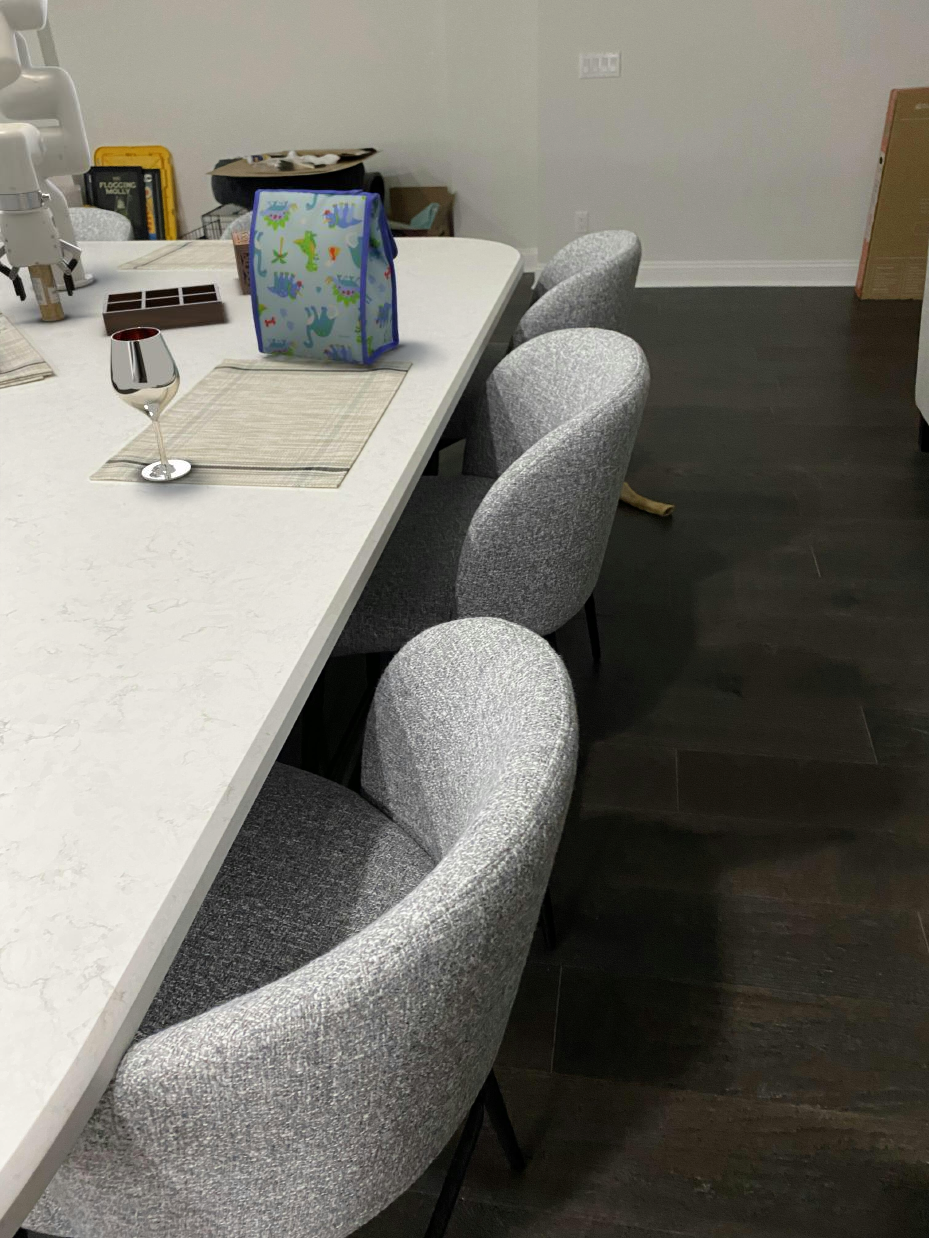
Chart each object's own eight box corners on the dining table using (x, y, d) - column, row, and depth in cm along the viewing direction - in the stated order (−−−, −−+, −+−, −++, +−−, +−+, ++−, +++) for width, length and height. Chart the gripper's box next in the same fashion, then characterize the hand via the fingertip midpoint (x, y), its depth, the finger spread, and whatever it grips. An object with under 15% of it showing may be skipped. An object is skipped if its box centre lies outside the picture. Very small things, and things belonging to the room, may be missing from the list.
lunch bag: (408, 340, 166) (398, 182, 151) (371, 370, 153) (355, 200, 138) (298, 333, 172) (278, 179, 158) (253, 361, 159) (226, 197, 145)
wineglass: (141, 460, 125) (109, 326, 115) (202, 456, 125) (175, 323, 116) (128, 486, 118) (92, 346, 108) (193, 482, 119) (163, 342, 109)
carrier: (110, 315, 187) (105, 294, 185) (220, 303, 192) (217, 283, 189) (107, 335, 175) (102, 313, 173) (225, 322, 180) (221, 301, 177)
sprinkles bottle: (68, 319, 185) (49, 248, 178) (44, 323, 183) (24, 252, 176) (62, 314, 189) (43, 245, 181) (39, 318, 187) (19, 248, 179)
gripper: (71, 195, 179) (94, 288, 188) (-26, 203, 175) (3, 297, 185) (68, 201, 173) (92, 297, 182) (-32, 209, 169) (-2, 306, 179)
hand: (47, 296), depth 183 cm, fingers open, 8 cm apart
